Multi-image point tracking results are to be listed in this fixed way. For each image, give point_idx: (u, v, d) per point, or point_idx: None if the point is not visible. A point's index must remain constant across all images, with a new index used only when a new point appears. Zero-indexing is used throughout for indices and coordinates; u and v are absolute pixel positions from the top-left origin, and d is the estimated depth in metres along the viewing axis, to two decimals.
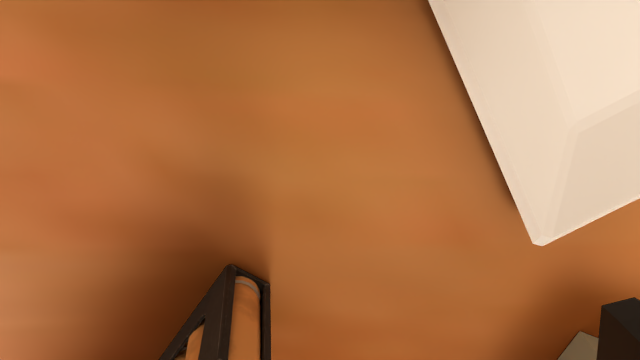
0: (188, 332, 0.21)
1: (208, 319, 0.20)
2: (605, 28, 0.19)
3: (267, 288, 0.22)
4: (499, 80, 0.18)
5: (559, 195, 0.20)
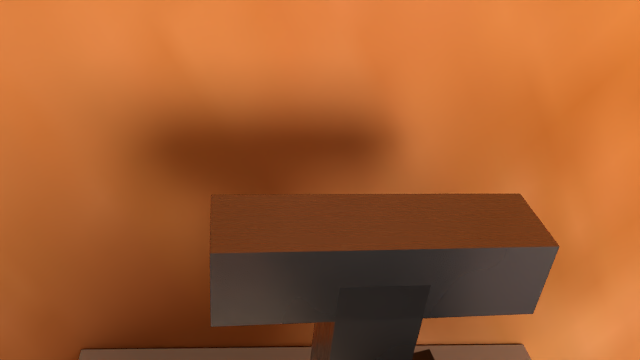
0: None
1: None
2: None
3: None
4: None
5: None
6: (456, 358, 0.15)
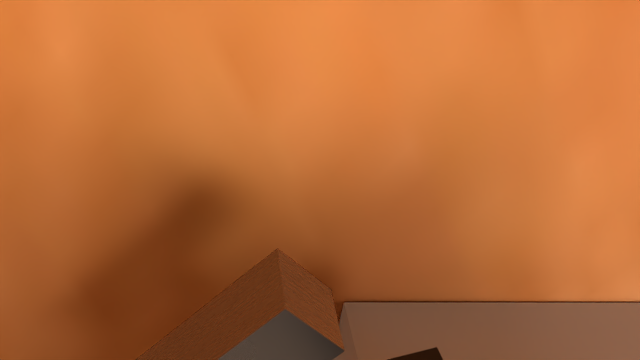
0: None
1: None
2: None
3: None
4: None
5: None
6: None
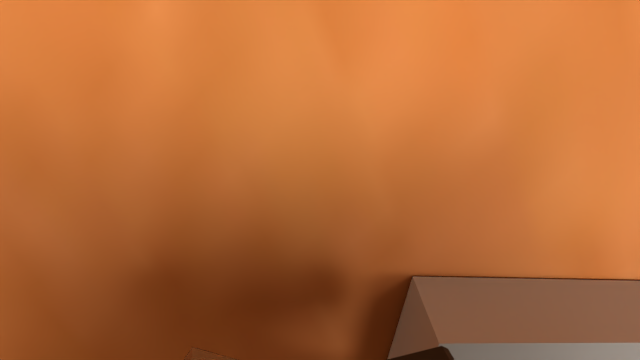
0: None
1: None
2: None
3: None
4: None
5: None
6: None
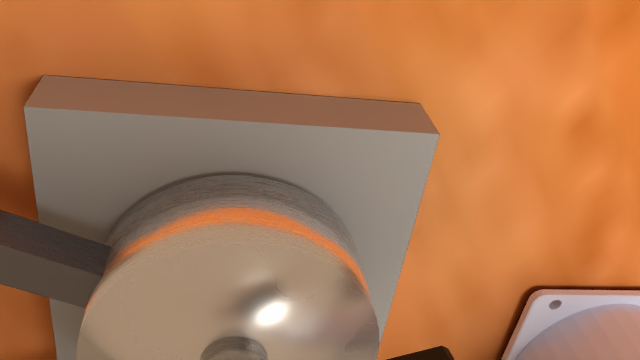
0: None
1: None
2: None
3: None
4: None
5: None
6: (360, 105, 0.18)
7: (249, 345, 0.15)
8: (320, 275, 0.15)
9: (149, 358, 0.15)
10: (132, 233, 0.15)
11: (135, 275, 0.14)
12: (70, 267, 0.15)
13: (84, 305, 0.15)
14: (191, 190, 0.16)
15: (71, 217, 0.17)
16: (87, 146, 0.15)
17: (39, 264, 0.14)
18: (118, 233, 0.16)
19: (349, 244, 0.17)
